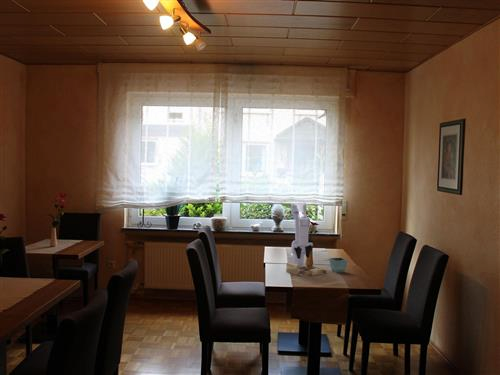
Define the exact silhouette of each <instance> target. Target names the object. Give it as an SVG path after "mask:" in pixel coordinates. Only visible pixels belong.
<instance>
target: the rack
mask: <svg viewBox="0 0 500 375" xmlns="http://www.w3.org/2000/svg"><path fill="white" fill-rule="evenodd" d="M316 268H317V269H322V271H323V274H322V275H325V274H327V270H326V269H323V268H318V267H315V266H311V265H309V266H308V268H304V269H300V268H299V274H302V275H305V276H309V277H313V276H319V275H321V274H317V275H312V273H311V272H308V271H309V270H312V269H316Z"/></svg>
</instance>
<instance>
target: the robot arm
mask: <svg viewBox="0 0 500 375" xmlns="http://www.w3.org/2000/svg"><path fill="white" fill-rule="evenodd" d="M290 212H291V213H290V214H291V216H292V217H293V218H294V233H295V234H294V235H295V240H293V241H292V242H291V249H290V250H291V254H290V255H289V256H290V257H289V263H293V264H297V265H299V268H304V266H305V257H306V258H307V259H308V258H310V254H311V251H312V250H313V248H314V247H313V246H314V243H313V242H309V233H310V232H309V231H310V230H309V228H310V225H311V219H310V217H308V215H307V203H306V202H293V201H292V202H291V204H290Z"/></svg>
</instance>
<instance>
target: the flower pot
mask: <svg viewBox="0 0 500 375" xmlns="http://www.w3.org/2000/svg"><path fill="white" fill-rule="evenodd" d="M347 265H348V259H345V258H343V257H329V266H330V269H331V271H332V272H334V273H344V272H345V271H346V269H347Z"/></svg>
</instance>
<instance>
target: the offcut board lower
mask: <svg viewBox="0 0 500 375" xmlns="http://www.w3.org/2000/svg"><path fill="white" fill-rule="evenodd" d="M308 272H309V271H308ZM317 274H320V275H324V274H323V271H321V272H317V273H312V275H315V276H318V275H317Z"/></svg>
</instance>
